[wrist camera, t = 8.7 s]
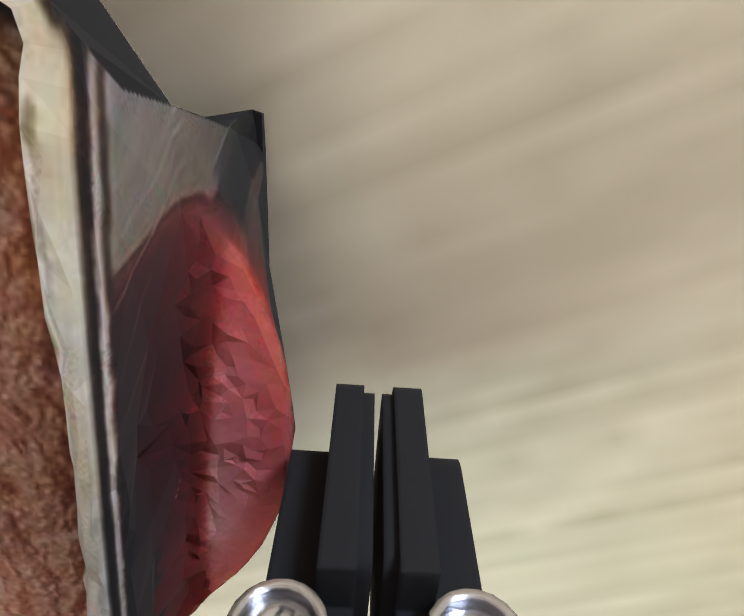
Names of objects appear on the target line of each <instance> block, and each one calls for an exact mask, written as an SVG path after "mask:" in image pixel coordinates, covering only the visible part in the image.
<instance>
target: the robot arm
mask: <svg viewBox="0 0 744 616" xmlns="http://www.w3.org/2000/svg"><path fill="white" fill-rule="evenodd" d="M374 404H375V394H372V393H364V385H348V384H337V385H336V394H335V403H334V412H333V421H332V430H331V440H330V449H329V452H320V451H304V450H292V451H291V454H290V459H289V464H288V469H287V474H286V479H285V484H284V490H283V495H282V500H281V505H280V511H279V516H278V521H277V526H276V531H275V537H274V542H273V547H272V552H271V557H270V563H269V568H268V573H267V578H266V581H263V582H260V583H258V584H257V585H255V586H253V587H251V588H249V589H247V590H246V591H245V592H244V593H243V594H242V595H241V596H240V597H239V598H238V599H237V600H236V601H235V603H234V604H233V606H232V608H231V609H230V611H229V613H228V615H227V616H367V614H368V605H369V595H370V616H517V615H516V614H515V612H514V611H513V610H512V609H511V608H510V607H509V606H508V605H507V604H506V603H505V602H503V601H502V600H500V599H499V598H497V597H496V596H494V595H493V594H490V593H487V592H484V591H482V588H481V582H480V576H479V570H478V565H477V559H476V553H475V547H474V541H473V535H472V529H471V523H470V518H469V512H468V506H467V500H466V494H465V488H464V482H463V477H462V471H461V466H460V463H459V461H458V460H456V459H440V458H429V454H428V445H427V435H426V426H425V417H424V407H423V398H422V390H421V389H413V388H397V387H394V388H393V392H392V395H390V394H382V399H381V409H380V419H379V429H378V440H377V450H376V460H375V470H374Z"/></svg>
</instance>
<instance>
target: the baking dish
mask: <svg viewBox="0 0 744 616" xmlns="http://www.w3.org/2000/svg"><path fill="white" fill-rule="evenodd" d="M294 432H295V421H294V413H293V406H292V399H291V392H290V386H289V380H288V374H287V367H286V361H285V355H284V349H283V344H282V338H281V332H280V326H279V320H278V314H277V308H276V303H275V297H274V291H273V285H272V279H271V273H270V268H269V239H268V208H267V177H266V147H265V130H264V114H263V113H261V112H258V111H255V110H247V111H241V112H235V113H229V114H222V115H216V116H210V117H202V116H199V115H196V114H194V113H191V112H188V111H185V110H183V109H180V108H177V107H174V106H172V105H170V103H169V102H168V100H167V99H166V97H165V96H164V94H163V93H162V92H161V90H160V89H159V87H158V86H157V84H156V83H155V81H154V80H153V78H152V77H151V75H150V74H149V72H148V71H147V70H146V68H145V67H144V65H143V64H142V62H141V61H140V59H139V58H138V56H137V55H136V53H135V52H134V50H133V49H132V48H131V46H130V45H129V43H128V42H127V40H126V39H125V37H124V36H123V34H122V33H121V31H120V30H119V28H118V27H117V25H116V24H115V23H114V21H113V20H112V18H111V17H110V15H109V14H108V12H107V11H106V9H105V8H104V6H103V5H102V3H101V2H100V1H99V0H0V616H190V615H191V614H192V613H193V612H195V611H196V609H197V608H198V607H199V605H200V604H201V603H203V601H204V600H205V599H206V598H207V597H208V596H209V595H210V594H211V593H212V592H214V591H215V590H216V589H218V588H219V587H220V586H221V585H223V584H224V583H225V582H226V581H227V580H229V579H230V578H231V577H232V576H234V575H235V574H236V573H237V572H238V571H239V570H240V569H241V568H242V567H243V566H244V565H245V564H246V563H247V562H248V561H249V560H250V559H251V557H252V556H253V555H254V554H255V552H256V551H257V550H258V549H259V548H260V546H261V545H262V544H263V542H264V540H265V538H266V536H267V534H268V533H269V531H270V529H271V527H272V525H273V523H274V521H275V519H276V517H277V515H278V513H279V511H280V505H281V500H282V495H283V490H284V484H285V479H286V474H287V469H288V464H289V459H290V454H291V451H292V445H293V439H294Z"/></svg>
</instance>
